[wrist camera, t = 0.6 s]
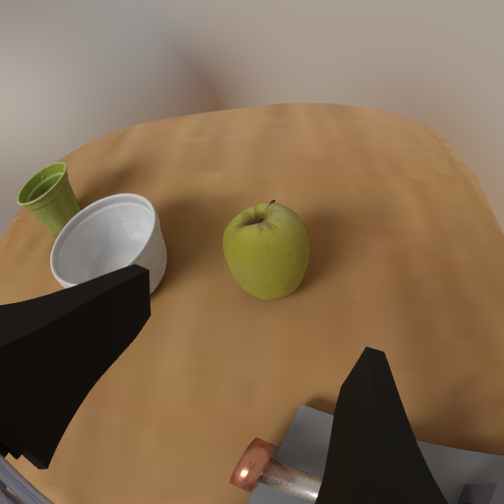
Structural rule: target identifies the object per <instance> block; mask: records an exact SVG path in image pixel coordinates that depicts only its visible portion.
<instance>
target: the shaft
mask: <svg viewBox="0 0 504 504" xmlns="http://www.w3.org/2000/svg"><path fill="white" fill-rule="evenodd" d="M277 448H278V446H276V445H273V444H271V443H269V442H266V441H264V440H262V439H259V438H257V437H256V438H255V439H254V440H253V441H252V442H251V443H250V445H249V446H248V447H247V449H246V450H245V452H244V454H243V455H242V457H241V459H240V460H239V462H238V464H237V466H236V468H235V469H234V472H233V474H232V476H231V479H230V483H231V484H233V485H235V486H237V487H239V488H241V489H243V490H246V491H248V492H250V493H252V492H253V491H254V489H255V488H256V487H257V485H258V484H259V482H260V483H262V484H265V485H267V486H270V487H272V488H275V489H277V490H280V491H282V492H285V493H287V494H290V495H293V496H295V497H298V498H301V499H304V500H307V501H310V502H313V503H315V501H316V498H317V495H318V492H319V489H320V486H321V483H322V479H323V477H320V476H317V475H314V474H311V473H308V472H305V471H303V470H300V469H297V468H294V467H292V466H289V465H287V464H284V463H282V462H279V461H277V460H274V459H273V457H274V455H275V453H276V450H277Z"/></svg>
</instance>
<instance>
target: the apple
mask: <svg viewBox="0 0 504 504" xmlns="http://www.w3.org/2000/svg"><path fill="white" fill-rule="evenodd" d="M274 202H275V200H273V201H271V202H262V203H259V204H256V205H253V206H251V207H249V208H247V209H246V210H244V211H242V212H241V213H239V214H238V215H237V216H236V217H235V218H234V219H232V221H231V222H230V223H229V224H228V225H227V227H226V229H225V231H224V235H223V250H224V254H225V257H226V261H227V264H228V267H229V270H230V272H231V274H232V276H233V277H234V279H235V280H236V282H237V283H238V284H239V286H240V287H241V288H242V289H244V290H245V291H246V292H248V293H249V294H251V295H253V296H255V297H257V298H259V299H261V300H273V299H278V298H282V297H285V296H287V295H289V294H291V293H292V292H294V291H295V290H296V289H297V288H298V286H299V285H300V283H301V281H302V279H303V277H304V275H305V272H306V269H307V266H308V262H309V256H310V241H309V237H308V232H307V229H306V227H305V225H304V223H303V221H302V220H301V219H300V217H299V216H298V215H297V214H296V213H295V212H294V211H293V210H291V209H290V208H288V207H286V206H284V205H281V204H277V203H274Z"/></svg>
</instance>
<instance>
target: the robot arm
mask: <svg viewBox="0 0 504 504" xmlns="http://www.w3.org/2000/svg"><path fill="white" fill-rule="evenodd" d="M150 316H151V308H150V270H149V269H146V268H144V267H141V266H139V265H137V264H133V265H130V266H126V267H124V268H121V269H118V270H115V271H113V272H110V273H107V274H105V275H102V276H99V277H97V278H94V279H91V280H89V281H86V282H83V283H81V284H78V285H75V286H72V287H69V288H66V289H63V290H60V291H57V292H55V293H52V294H48V295H45V296H42V297H38V298H34V299H30V300H26V301H22V302H17V303H12V304H6V305H0V504H54V503H53V502H52V501H51V500H49V499H48V498H47V497H46V496H45V495H43V494H42V493H41V492H40V491H39V490H38V489H36V488H35V487H34V486H33V485H32V484H31V483H30V482H29V481H28V480H26V479H25V478H24V477H23V476H22V475H21V474H20V473H19V472H18V471H17V470H16V469H15V468H14V467H13V466H12V465H11V464H10V463H9V462H8V461H7V460H6V459H5V457H6V455H7V454H8V453H10V454H11V455H12V456H13V457H14V458H15V459H18V458H19V457H20V456H21V455H23V456H24V457H25V458H26V459H28V460H29V461H30V462H31V463H32V464H33V465H34V466H36V467H37V468H38V469H48V467H49V464H50V462H51V459H52V457H53V455H54V452H55V450H56V448H57V446H58V444H59V442H60V440H61V438H62V436H63V434H64V432H65V430H66V428H67V427H68V425H69V423H70V421H71V420H72V418H73V416H74V415H75V413H76V411H77V410H78V408H79V407H80V405H81V404H82V402H83V401H84V399H85V398H86V396H87V395H88V393H89V392H90V390H91V389H92V387H93V386H94V385H95V384H96V382H97V381H98V380H99V379H100V377H101V376H102V375H103V374H104V373H105V372H106V371H107V370H108V368H109V367H110V366H111V365H112V364H113V363H114V362H115V361H116V360H117V358H118V357H119V356H120V355H121V354H122V353H123V352H124V351H125V349H126V348H127V347H128V346H129V345H130V344H131V343H132V341H133V340H134V339H135V338H136V337H137V335H138V334H139V332H140V331H141V329H142V328H143V327H144V325H145V323H146V322H147V320H148V319H149V317H150ZM6 486H7V487H8V488H9V489H10V490H11V491H12V492H13V493H14V494H15V495H16V496H17V497H16V496H15V495H14V494H12V493H11V492H9V491H8V490H7V488H6ZM315 504H449V503H448V502H447V500H446V499H445V497H444V495H443V493H442V492H441V490H440V488H439V486H438V485H437V483H436V481H435V479H434V477H433V475H432V473H431V472H430V469H429V467H428V465H427V463H426V461H425V459H424V457H423V455H422V453H421V450H420V448H419V446H418V444H417V441H416V439H415V436H414V434H413V431H412V429H411V426H410V424H409V421H408V418H407V416H406V413H405V410H404V407H403V404H402V402H401V399H400V396H399V393H398V390H397V387H396V384H395V381H394V378H393V375H392V373H391V370H390V367H389V364H388V361H387V358H386V355H385V353H384V352H383V351H379V350H376V349H373V348H369V347H366V348H365V350H364V351H363V353H362V354H361V356H360V358H359V359H358V361H357V363H356V364H355V366H354V367H353V369H352V371H351V372H350V374H349V375H348V377H347V378H346V380H345V381H344V383H343V384H342V386H341V389H340V393H339V397H338V400H337V404H336V408H335V412H334V417H333V423H332V429H331V436H330V442H329V448H328V453H327V459H326V464H325V470H324V475H323V479H322V483H321V486H320V489H319V492H318V495H317V498H316V501H315Z"/></svg>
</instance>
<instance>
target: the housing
mask: <svg viewBox="0 0 504 504" xmlns="http://www.w3.org/2000/svg"><path fill="white" fill-rule="evenodd" d="M333 417H334V416H333V415H331V414H328V413H325V412H322V411H319V410H316V409H314V408H311V407H308V406H306V405H303V404H301V405H300V407H299V409H298V411H297V413H296V415H295V417H294V419H293V421H292V423H291V425H290V427H289V429H288V431H287V433H286V435H285V437H284V439H283V441H282V443H281V445H280V447H279V449H278V451H277V452H276V454H275V456H274V458H273V459H274V460H277V461H279V462H282V463H284V464H287V465H289V466H292V467H294V468H297V469H300V470H303V471H305V472H308V473H311V474H314V475H317V476H320V477H323V475H324V470H325V464H326V459H327V453H328V448H329V442H330V436H331V429H332V423H333ZM416 441H417V444H418V446H419V448H420V450H421V453H422V455H423V457H424V459H425V461H426V463H427V465H428V467H429V469H430V472H431V473H432V475H433V477H434V479H435V481H436V483H437V485H438V486H439V488H440V490H441V492H442V493H443V495H444V497H445V499H446V500H447V502H448V503H449V504H504V455H495V454H488V453H481V452H474V451H468V450H463V449H457V448H452V447H447V446H442V445H437V444H432V443H428V442H423V441H419V440H416ZM247 504H315V503H313V502H310V501H307V500H304V499H301V498H298V497H295V496H293V495H290V494H287V493H285V492H282V491H280V490H277V489H275V488H272V487H270V486H267V485H265V484H262V483H259V485H258V487H257V488H256V490H255V492H254V493H253V495H252V497H251V498H250V500H249V502H248V503H247Z"/></svg>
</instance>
